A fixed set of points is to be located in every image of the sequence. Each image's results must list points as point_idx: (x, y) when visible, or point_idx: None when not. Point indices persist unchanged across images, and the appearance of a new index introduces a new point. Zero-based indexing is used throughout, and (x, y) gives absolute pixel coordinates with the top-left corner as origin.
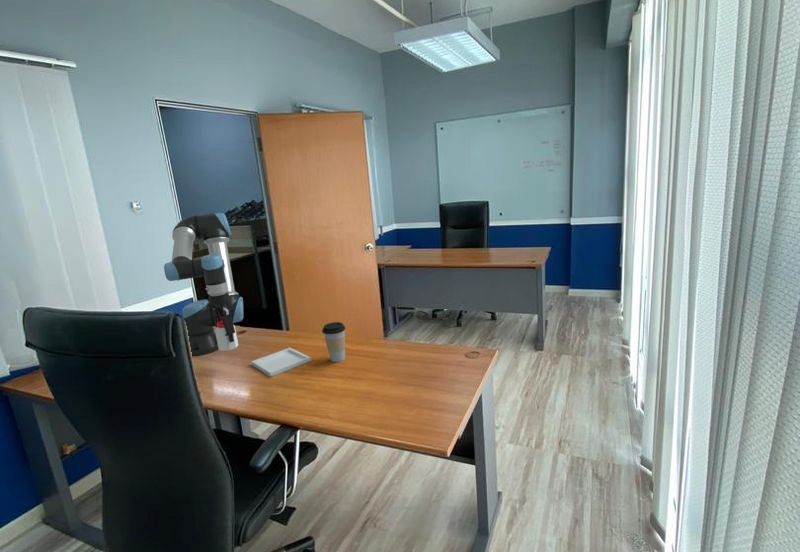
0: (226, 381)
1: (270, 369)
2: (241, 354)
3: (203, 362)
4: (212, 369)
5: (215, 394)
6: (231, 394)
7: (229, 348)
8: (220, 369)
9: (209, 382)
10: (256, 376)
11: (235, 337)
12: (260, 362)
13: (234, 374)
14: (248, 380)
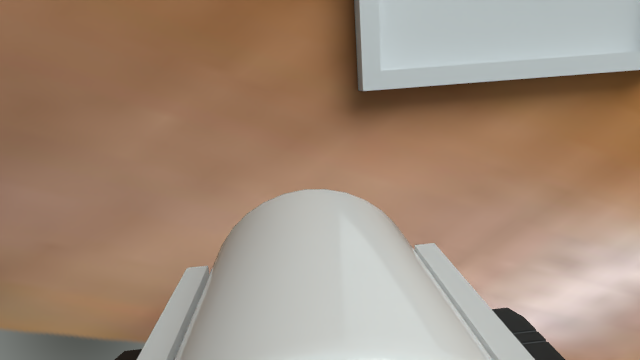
0: None
1: (572, 27)
2: (67, 74)
3: (31, 311)
4: None
5: (559, 352)
6: (633, 298)
7: None
8: None
9: None
10: (554, 131)
11: (427, 272)
12: (388, 31)
13: (403, 220)
14: (562, 185)
